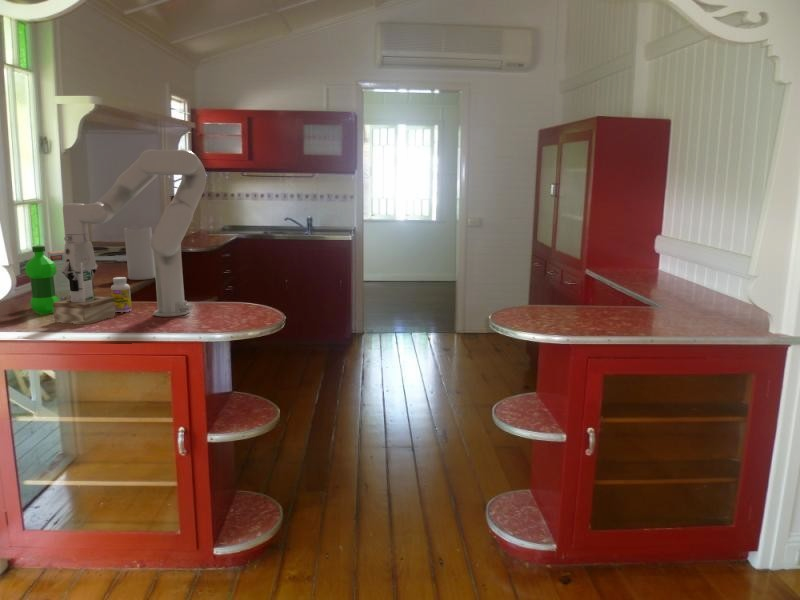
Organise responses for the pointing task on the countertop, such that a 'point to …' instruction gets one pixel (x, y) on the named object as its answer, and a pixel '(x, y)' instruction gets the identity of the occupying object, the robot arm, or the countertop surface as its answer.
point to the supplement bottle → (121, 295)
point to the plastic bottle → (41, 281)
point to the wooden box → (84, 310)
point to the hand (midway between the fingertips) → (82, 289)
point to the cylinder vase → (139, 253)
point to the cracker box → (60, 276)
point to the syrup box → (83, 287)
